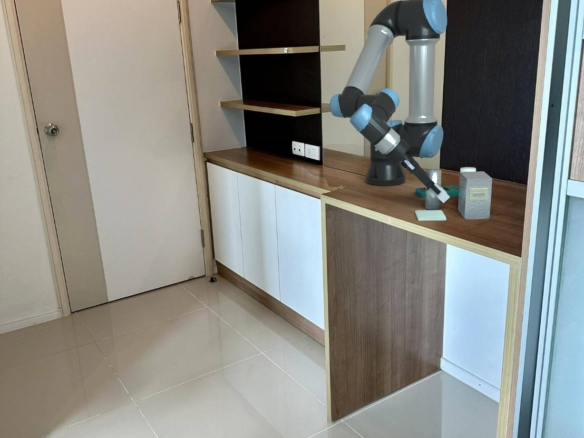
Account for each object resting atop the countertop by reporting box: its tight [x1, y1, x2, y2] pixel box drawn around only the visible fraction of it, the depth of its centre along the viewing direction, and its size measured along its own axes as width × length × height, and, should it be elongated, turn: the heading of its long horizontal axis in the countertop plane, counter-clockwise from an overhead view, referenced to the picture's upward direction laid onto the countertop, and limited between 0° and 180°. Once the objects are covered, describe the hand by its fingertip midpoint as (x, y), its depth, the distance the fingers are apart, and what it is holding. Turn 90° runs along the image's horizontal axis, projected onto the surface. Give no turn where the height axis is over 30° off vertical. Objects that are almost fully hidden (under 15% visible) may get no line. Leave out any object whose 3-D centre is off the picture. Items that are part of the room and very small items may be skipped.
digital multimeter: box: [414, 185, 459, 200], centre depth 185 cm, size 7×15×3 cm, turn 94°
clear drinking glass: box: [424, 168, 442, 210], centre depth 168 cm, size 5×5×12 cm
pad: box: [414, 209, 447, 222], centre depth 161 cm, size 8×8×1 cm
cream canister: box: [459, 166, 477, 173], centre depth 169 cm, size 5×5×12 cm
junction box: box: [457, 170, 493, 220], centre depth 160 cm, size 11×7×12 cm, turn 174°
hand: (444, 197), depth 168 cm, fingers closed on clear drinking glass, 5 cm apart
